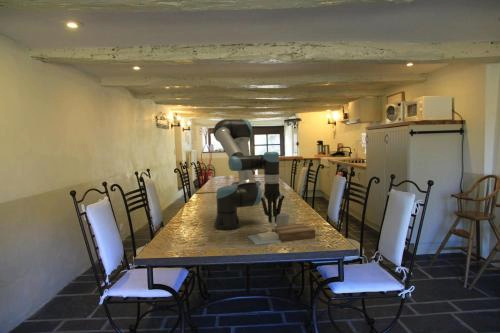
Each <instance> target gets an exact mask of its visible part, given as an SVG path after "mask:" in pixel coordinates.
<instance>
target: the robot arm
mask: <svg viewBox="0 0 500 333" xmlns="http://www.w3.org/2000/svg"><path fill="white" fill-rule="evenodd" d="M253 132H254V131H253V126H252V124H251V121H249V120H248V119H243V118H239V119H235V118H234V119H233V118H231V119H228V118H225V119H221V120H219V121H218V122H217V123H216V124H215V125H214V127H213V131H212V133H213V138H214V139H215V140H216V142H218V143H219V144H220V145H221V147H222V149H223V150H224V152H225V153H226V155H227V157H228V161H227V162H228V168H229V170H230V171H231V172H237V174H238V181H239V182H238V184H237V186H236V185H232V184H231V185H225V186H221V187H219V188H218V189H216V196H215V197H216V217H215V219H214V223H213V224H214V225H213V226H214V227H213V228H215V229H217V230H224V231H225V230H226V231H229V230H235V229H238V228H240V227H241V220H240V218H239V214H238V208H246V207H254V206H258V205H260V203H261V205H262V208H263V213H264V215H265V216H267V217H268V223H269V225H270V229H271V230H272V229H275V226H276V223H275V222H276V216H277V215H279V214H280V212H282V206H283V200H284V199H285V196H284V195H283V194H281V192H280V183H279V182H280V154H279V152H278V151H265V152H264V153H263V154H257V155H250V154H251V153H250V147H249V142H250V141H251V138H252V136H253ZM257 170H263V173H264V174H263V175H264V177H263V180H264V181H263V182H264V192H263V193H262V188H261V186H259V185H258V183H257V181H255V180H254V176H253V175H254V173H253V171H257ZM266 200H267V201H266ZM266 202H267V203H266Z"/></svg>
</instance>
